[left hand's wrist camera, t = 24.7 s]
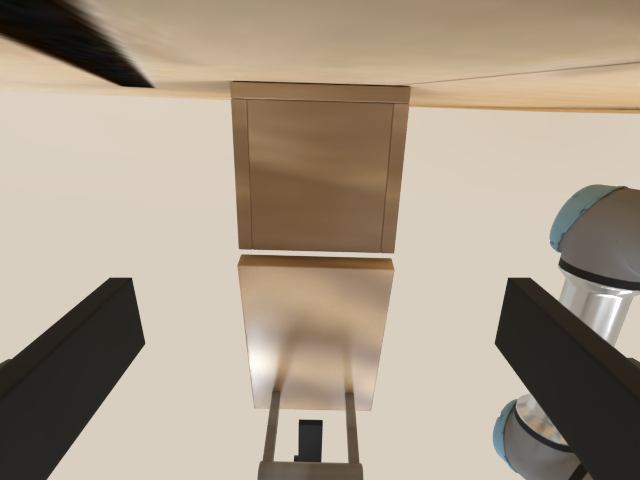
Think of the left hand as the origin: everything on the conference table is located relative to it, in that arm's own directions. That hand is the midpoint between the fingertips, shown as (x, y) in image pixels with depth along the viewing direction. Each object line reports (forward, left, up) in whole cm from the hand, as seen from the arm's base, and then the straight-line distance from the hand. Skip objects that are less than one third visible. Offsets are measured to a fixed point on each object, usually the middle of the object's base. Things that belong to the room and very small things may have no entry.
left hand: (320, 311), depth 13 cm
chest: (+15, -10, -8) cm, 20 cm away
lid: (+11, -7, +10) cm, 16 cm away
